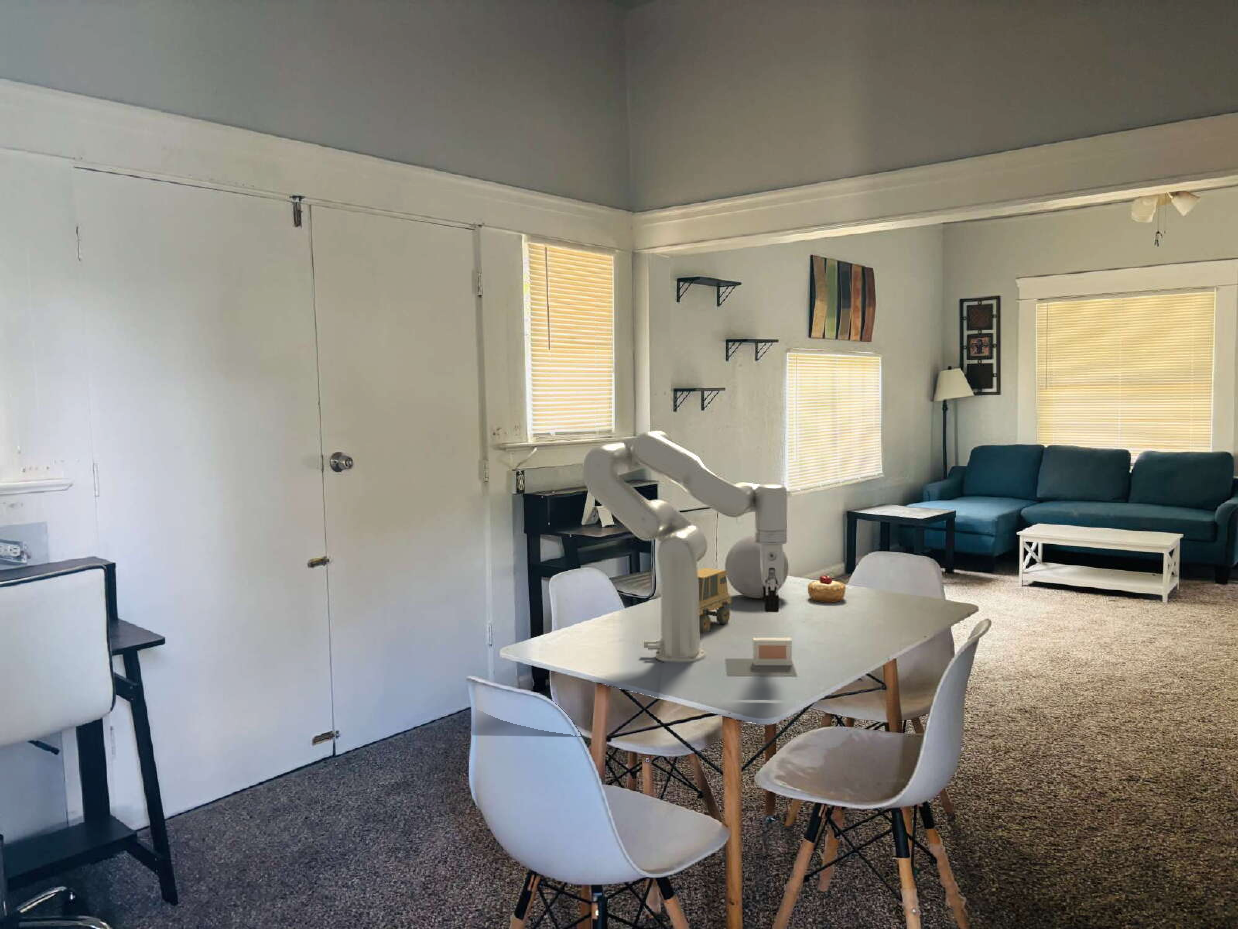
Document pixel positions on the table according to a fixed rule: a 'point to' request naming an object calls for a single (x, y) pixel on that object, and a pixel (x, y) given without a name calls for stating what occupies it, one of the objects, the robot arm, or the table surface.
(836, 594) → the pastry
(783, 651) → the card box
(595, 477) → the robot arm
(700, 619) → the toy car
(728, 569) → the ball
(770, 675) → the mat
